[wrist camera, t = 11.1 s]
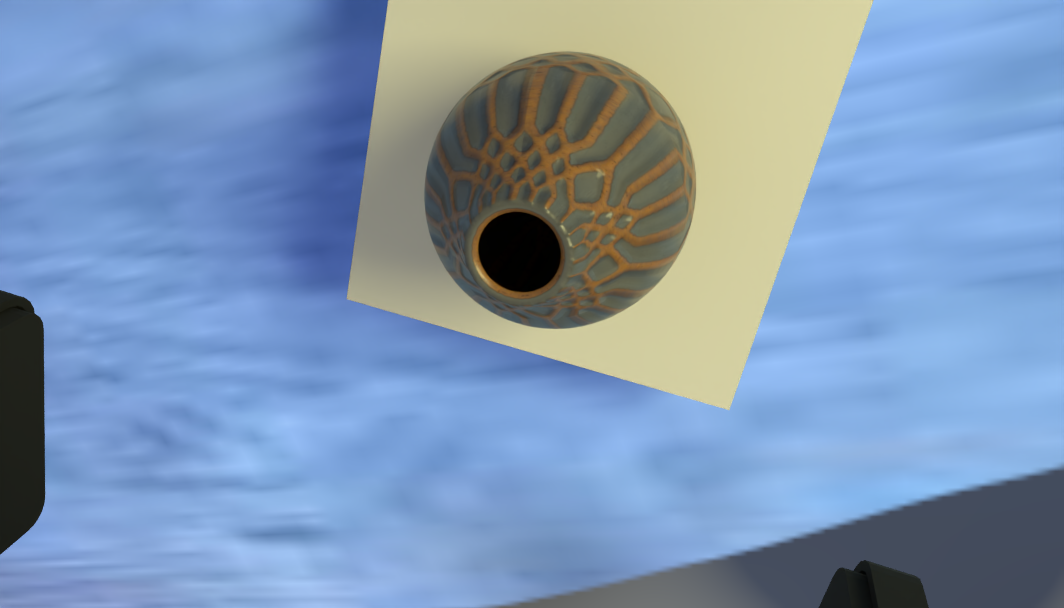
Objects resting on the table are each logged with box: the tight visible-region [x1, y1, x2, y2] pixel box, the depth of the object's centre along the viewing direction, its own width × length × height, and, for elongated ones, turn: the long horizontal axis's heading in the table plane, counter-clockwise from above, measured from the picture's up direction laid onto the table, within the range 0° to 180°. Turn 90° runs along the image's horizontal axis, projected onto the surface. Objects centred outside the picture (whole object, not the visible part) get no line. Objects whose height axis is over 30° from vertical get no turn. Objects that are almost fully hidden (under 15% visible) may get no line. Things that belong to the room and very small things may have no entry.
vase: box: [424, 51, 696, 329], centre depth 23 cm, size 7×7×9 cm
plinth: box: [347, 0, 873, 410], centre depth 29 cm, size 13×13×4 cm
